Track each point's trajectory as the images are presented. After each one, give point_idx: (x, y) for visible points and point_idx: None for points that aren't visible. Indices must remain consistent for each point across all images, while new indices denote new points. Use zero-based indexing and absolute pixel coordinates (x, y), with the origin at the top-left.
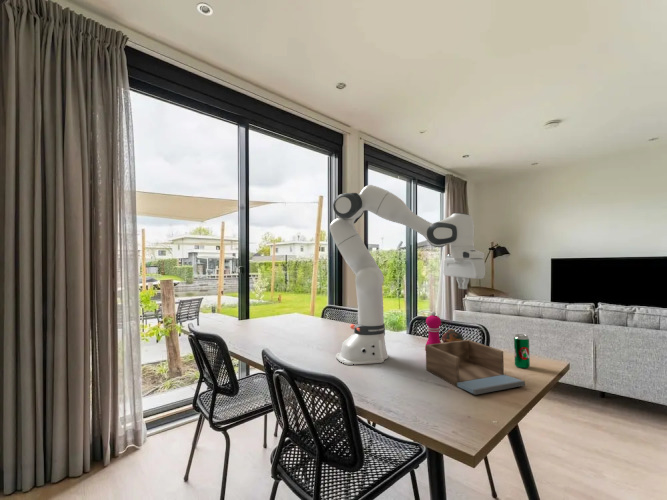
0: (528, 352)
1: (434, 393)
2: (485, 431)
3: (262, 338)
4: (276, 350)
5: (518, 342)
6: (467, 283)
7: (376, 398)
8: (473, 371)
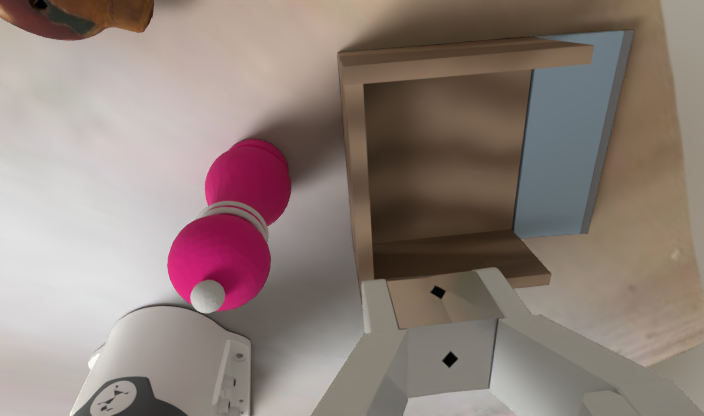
0: None
1: None
2: (684, 290)
3: None
4: None
5: None
6: (565, 338)
7: (472, 403)
8: (462, 133)
